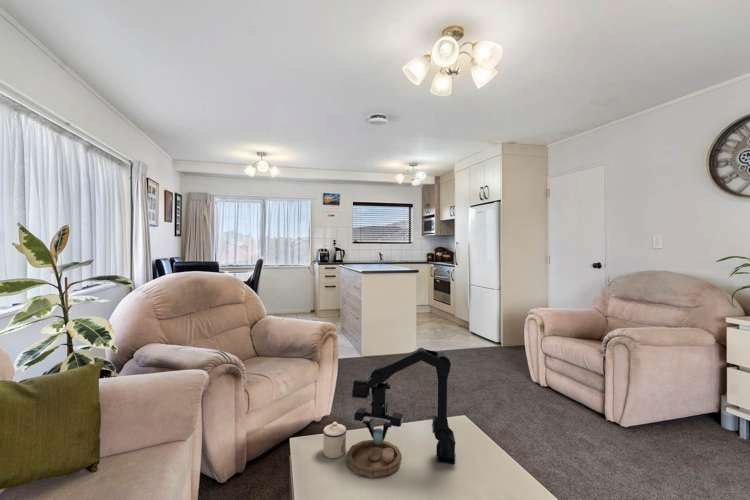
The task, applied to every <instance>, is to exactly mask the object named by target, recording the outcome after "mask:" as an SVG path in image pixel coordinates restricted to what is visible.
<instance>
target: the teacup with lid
mask: <svg viewBox="0 0 750 500" xmlns="http://www.w3.org/2000/svg"><path fill="white" fill-rule="evenodd" d="M322 432H323V455H324V456H325V457H326V458H329V459H339V458H342V457H344V455H345V454H346V453H347V452H346V451H347V448H346V444H347V436H346V435H347V428H346V426H345V425H343V424H341V423H338V422H337V421H333V422H332V423H330V424H327V425H326V426H324V428H323V431H322Z"/></svg>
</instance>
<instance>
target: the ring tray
mask: <svg viewBox="0 0 750 500" xmlns="http://www.w3.org/2000/svg"><path fill="white" fill-rule="evenodd" d="M384 448H392V449H393V450H394V462H393V463H391V464H389V465H388V464H385V463H383V449H384ZM402 457H403V456H402V453H401V450H400V449H399V448H398V446H396V445H395V444H393V443H391V442H389V441H387V440H384V441H383V443H382V444H375V443H374V442H373V439H369V440H361V441H359V442H356V443H355V444H353V445H351V447H350V448H349V450H348V451H347V452H346V461H347V465H348V467H349V469H350V470H351V471H352V472H353V473H355V474H357V475H359V476H362V477H365V478H370V479H371V478H373V479H374V478H375V479H377V478H385V477H389V476H391V475H392V474H394V473H395V472H397V471H398V470H399V468H400V467H401V463H402Z"/></svg>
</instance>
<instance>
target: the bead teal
mask: <svg viewBox="0 0 750 500" xmlns="http://www.w3.org/2000/svg"><path fill="white" fill-rule="evenodd" d="M372 440H373V442H374V443H375V444H382V443H383V441H385V439H384V440H383V429H382V428H374V431H373V438H372Z"/></svg>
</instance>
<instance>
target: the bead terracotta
mask: <svg viewBox="0 0 750 500" xmlns="http://www.w3.org/2000/svg"><path fill="white" fill-rule="evenodd" d="M393 462H394V450H393V449H392V448H384V449H383V463H385V464H388V465H389V464H391V463H393Z"/></svg>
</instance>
